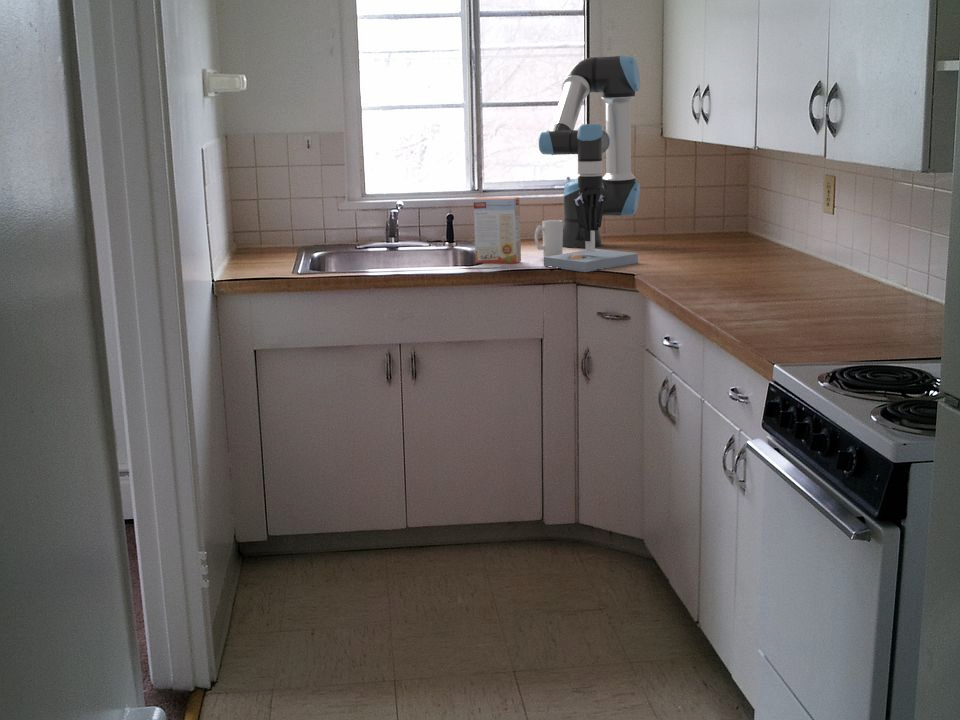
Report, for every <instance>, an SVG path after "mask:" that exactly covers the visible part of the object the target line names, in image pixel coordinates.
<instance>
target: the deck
mask: <svg viewBox="0 0 960 720" xmlns="http://www.w3.org/2000/svg"><path fill="white" fill-rule="evenodd" d="M576 254H577V255H580V256H581V257H582V259H571V257H572V256H573V255H576ZM638 263H639V253H637V252H628V251H619V250H610V249H601V248H595V252H588V251H585V250H580V251H574V252H573V251H572V252H567V253H566V252H565V253H562V254H560V255H553V256H547V257H544V256H543V267H544V266H552V267H558V268H561V270H568V271H574V272H582V273H587V272H588V273H589V272H594V271H598V270H597V269H601V270H605V269H604V268H606V269H611V268H617V267H622V266H630V265H633V264H638ZM558 268H557V269H558Z"/></svg>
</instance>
